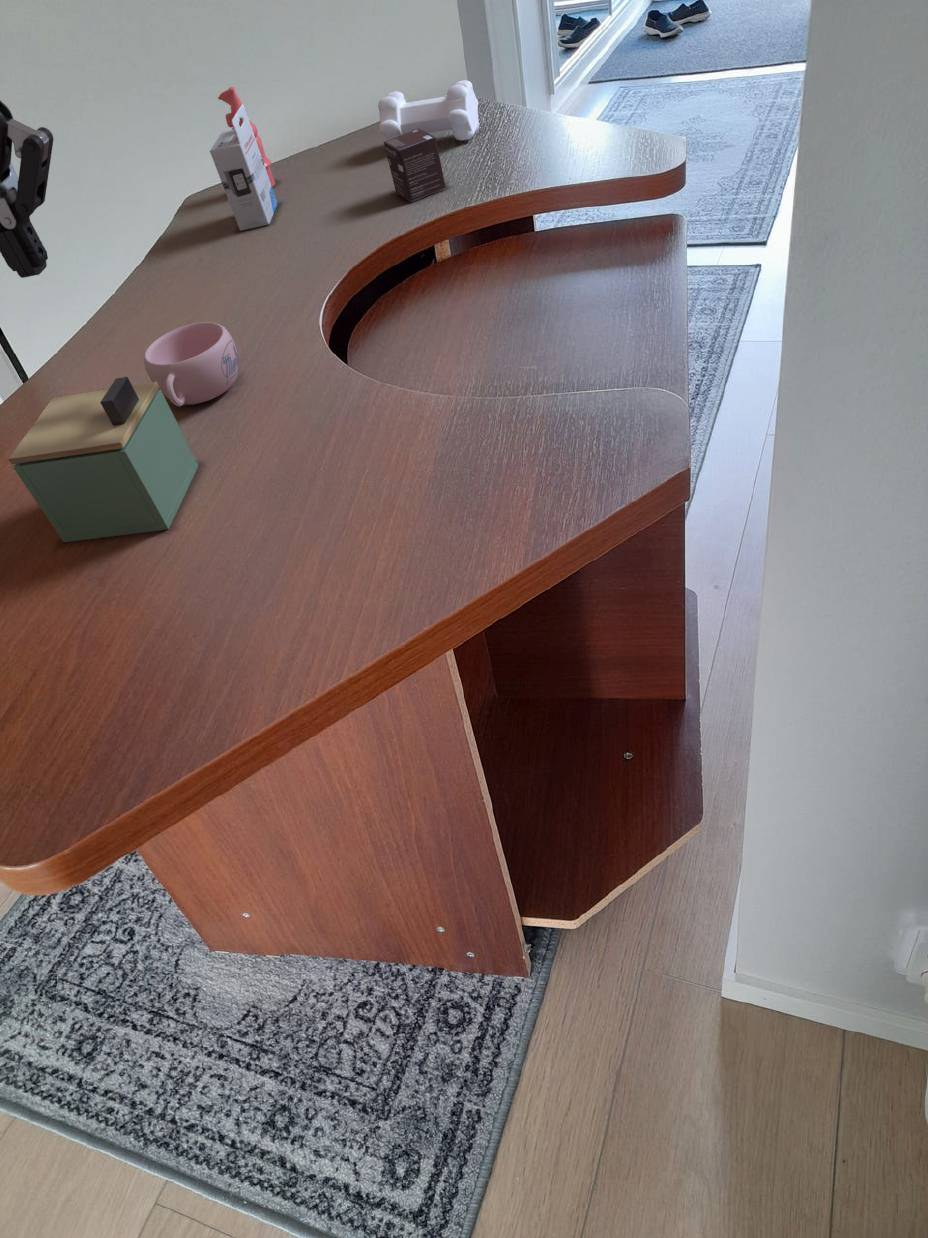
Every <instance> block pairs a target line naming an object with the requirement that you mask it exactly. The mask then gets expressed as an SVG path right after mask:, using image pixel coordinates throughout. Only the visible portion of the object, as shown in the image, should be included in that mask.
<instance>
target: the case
mask: <svg viewBox="0 0 928 1238" xmlns="http://www.w3.org/2000/svg"><path fill="white" fill-rule="evenodd" d="M180 427H181V426H180V425H179V423H178V422H177V419H176V418H175V415H174V413H173V412H172V409H171V408H170V405H169V404H168V402H167V400H166V396H165V395H163V393H162V391H161V390H157V392H156V393H155V395H154V397H153V399H152V400H151V402H150V404H149V405H148V407H147V409H146V411H145V412H144V414H143V416H142V417H141V419H140V421H139V423H138V424H137V426H136V428H135V429H134V431H133V433H132V435H131V436H130V438H129V440H128V441H127V443H126V445H125V446H124V448H121V449H114V450H107V451H100V452H93V453H86V454H79V455H72V456H66V457H59V458H52V459H45V460H38V461H31V462H24V463H17V464H14V466H13V469H14V471H15V473H16V474H17V476H18V477H19V478H20V480H21V482H22V483H23V485H24V486H25V487H26V489H27V490H28V491H29V493H30V495H31V496H32V498H33V499H34V501H35V502H36V504H37V505H38V507H39V509H40V510H41V511H42V512H43V515H44V516H45V517H46V519H47V520H48V521H49V523H50V524H51V526H52V527H53V529H54V531H55V532H56V533H57V535H58V536H59V538H60V539H61V541H62V542H63V543H70V542H71V543H72V542H78V541H86V540H87V541H88V540H94V539H103V538H110V537H119V536H127V535H135V534H143V533H151V532H158V531H167V530H170V528H171V525H172V523H173V521H174V519H175V517H176V515H177V513H178V511H179V508H180V507H181V505H182V502H183V500H184V498H185V497H186V494H187V492H188V490H189V488H190V485H191V483H192V481H193V479H194V478H195V474H196V473H197V471H198V468H199V464H198V461H197V459H196V457H195V456H194V454H193V452H192V449H191V447H190V445H189V444H188V441H187V440H186V437H185V436H184V434H183V432H182V429H181V428H180Z"/></svg>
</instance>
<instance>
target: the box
mask: <svg viewBox="0 0 928 1238" xmlns="http://www.w3.org/2000/svg"><path fill="white" fill-rule="evenodd" d="M383 145H384V148H385V153H386V157H387V158H386V159H387V162H388V165H389V170H390V175H391V178H392V182H393V186H394V190H395V193H396V194H397V195H398V196H400V197H401V198H403V200H406V201H407V202H409V203H413V202H417V201H419V200H421V199H423V198H426V197H428V196H431V195H433V194H437V193H439V192H443V191H445V190H446V189H447V185H446V182H445V176H444V172H443V166H442V162H441V157H440V152H439V146H438V142H437V137H436V136H435V135H433V134H430V132H429V133H428V132H426V131H423V130H421V129H416V130H413V131H411V132H408V133H406V134H403V135H400V136H398V137H395V138H392V139H390V140H387V141H386V140H384V141H383Z"/></svg>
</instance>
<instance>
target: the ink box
mask: <svg viewBox="0 0 928 1238" xmlns="http://www.w3.org/2000/svg"><path fill="white" fill-rule="evenodd" d="M241 118H242V120H243V124H242V125H241V127H240V126H239V122H240V119H241ZM249 120H250V119H249V116H248V113H247V110H246V108H245V105H244V104H243V103H242V104H241V106H240V108H239V109H238V111H237V112H236V114H235V116H234V117H233V119H232V125H233V127H232V128H234V129H233V130H232V129H229V130H225V131H224V130H223V131H221V133H220V134H219V136H218V138H216V140H215V142H214V143H213V144H212V147H211V149H210V150H209V154H210V156H211V158H212V161H213V163H214V166H215V168H216V172H217V174H218V176H219V179H220V183H221V184H222V187H223V190H224V192H225V194H226V198H227V200H228V203H229V205H230V208H231V210H232V213H233V216H234V219H235V221H236V223H237V227H238V228H239V231H246V230H251V229H255V228H261V227H263V226H269V225H270V224H271V221H272V219H273V216H274V214H275V211H276V209H277V207H278V201H277V197H276V194H275V192H274V189H273V187H272V186H271V183H270V180H269V177H268V174H267V171H266V168H265V165H264V162H263V159H262V156H261V153H260V150H259V148H258V145H257V142H256V139H255V136H254V133H253V130H252V127H251V124H250V121H251V120H250V121H249Z"/></svg>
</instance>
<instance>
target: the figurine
mask: <svg viewBox="0 0 928 1238" xmlns="http://www.w3.org/2000/svg"><path fill="white" fill-rule="evenodd" d="M217 99H218V100H219V101H220V100H221V101H222V102H224V103H225V104H227V105H229V106H230V112H228V113H225V121H226V124H227V126H228V127H229V128H231V130H233V129H234V128H233V125H232V119H233V117H234V116H235V114H236V112H237V111H238V109H239V108H240V106H241V104H243V103H242V101H241V99H240V97H239V96H238V93H237V92H236V88H235V87H234V86H230V87H229V88H228V89H226V90H225V91H223V92H221V93H220V94H219V96H218V97H217ZM249 121H250V124H251V127H252V130H253V133H254V136H255V139H256V142H257V145H258V148H259V150H260V153H261V156H262V159H263V162H264V165H265V168H266V171H267V174H268V177H269V180H270V183H271V186H272V188H273V187H274V186H275V185H276V181H275V178H274V175H273V173H272V169H271V165H272V160H270V159H269V158H268V157H267V154H266V153H265V149H264V146H263V145H264V144H263V141H262V138H261V137H260V135H259V134H258V132H259V131H258V128H257V125H256V124H255V123H254V122H252V121H251V120H250V119H249ZM242 124H243V120H242V118H241V119H240V122H239V126H240V127H241V125H242Z"/></svg>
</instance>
